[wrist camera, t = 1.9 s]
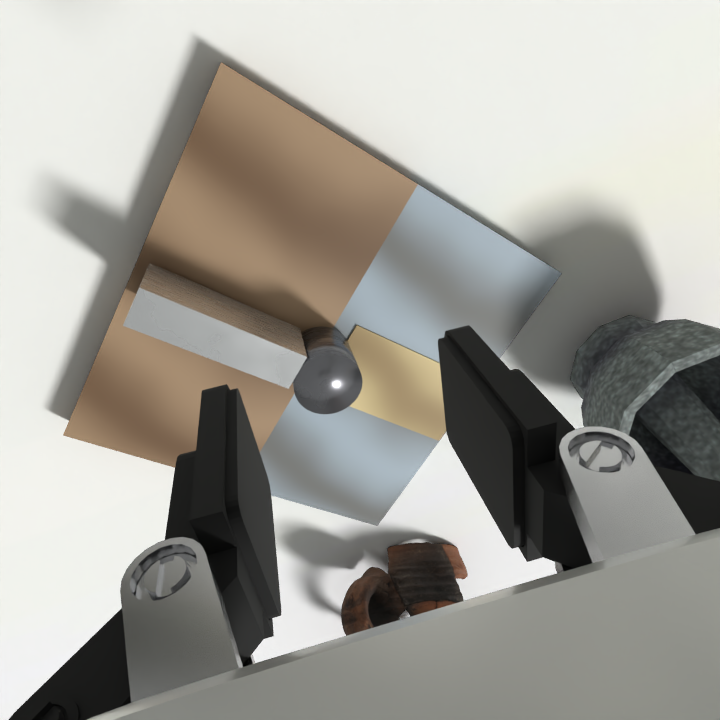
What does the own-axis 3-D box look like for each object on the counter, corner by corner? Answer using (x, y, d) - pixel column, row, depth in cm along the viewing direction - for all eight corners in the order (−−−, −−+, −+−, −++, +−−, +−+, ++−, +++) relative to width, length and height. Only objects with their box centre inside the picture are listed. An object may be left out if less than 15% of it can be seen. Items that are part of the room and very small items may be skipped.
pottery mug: (490, 544, 40) (517, 670, 36) (399, 568, 46) (412, 680, 42) (380, 529, 33) (398, 686, 29) (286, 560, 38) (289, 695, 34)
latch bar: (361, 341, 27) (375, 370, 25) (331, 390, 28) (341, 422, 26) (155, 248, 23) (145, 272, 21) (128, 310, 24) (116, 340, 22)
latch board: (221, 62, 22) (221, 62, 21) (550, 266, 29) (562, 273, 28) (69, 421, 28) (62, 436, 27) (373, 512, 35) (377, 526, 34)
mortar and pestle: (520, 353, 32) (658, 492, 21) (658, 255, 30) (876, 354, 20) (588, 459, 37) (723, 610, 27) (707, 381, 36) (896, 508, 26)
